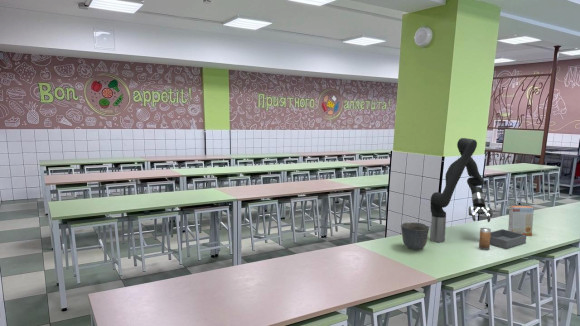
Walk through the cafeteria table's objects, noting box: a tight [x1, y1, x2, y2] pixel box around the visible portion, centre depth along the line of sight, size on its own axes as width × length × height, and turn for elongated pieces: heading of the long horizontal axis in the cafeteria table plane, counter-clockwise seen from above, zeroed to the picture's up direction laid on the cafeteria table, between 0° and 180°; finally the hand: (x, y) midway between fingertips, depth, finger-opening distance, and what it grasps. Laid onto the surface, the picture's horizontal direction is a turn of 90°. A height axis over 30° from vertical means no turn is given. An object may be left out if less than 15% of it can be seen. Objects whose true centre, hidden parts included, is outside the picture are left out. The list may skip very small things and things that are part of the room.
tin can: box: [478, 227, 492, 251], centre depth 230 cm, size 6×6×13 cm
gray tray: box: [490, 228, 527, 250], centre depth 241 cm, size 24×16×6 cm, turn 120°
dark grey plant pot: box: [400, 222, 431, 250], centre depth 229 cm, size 18×18×15 cm
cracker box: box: [508, 205, 534, 237], centre depth 258 cm, size 14×6×21 cm, turn 84°
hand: (481, 221), depth 238 cm, fingers open, 8 cm apart
